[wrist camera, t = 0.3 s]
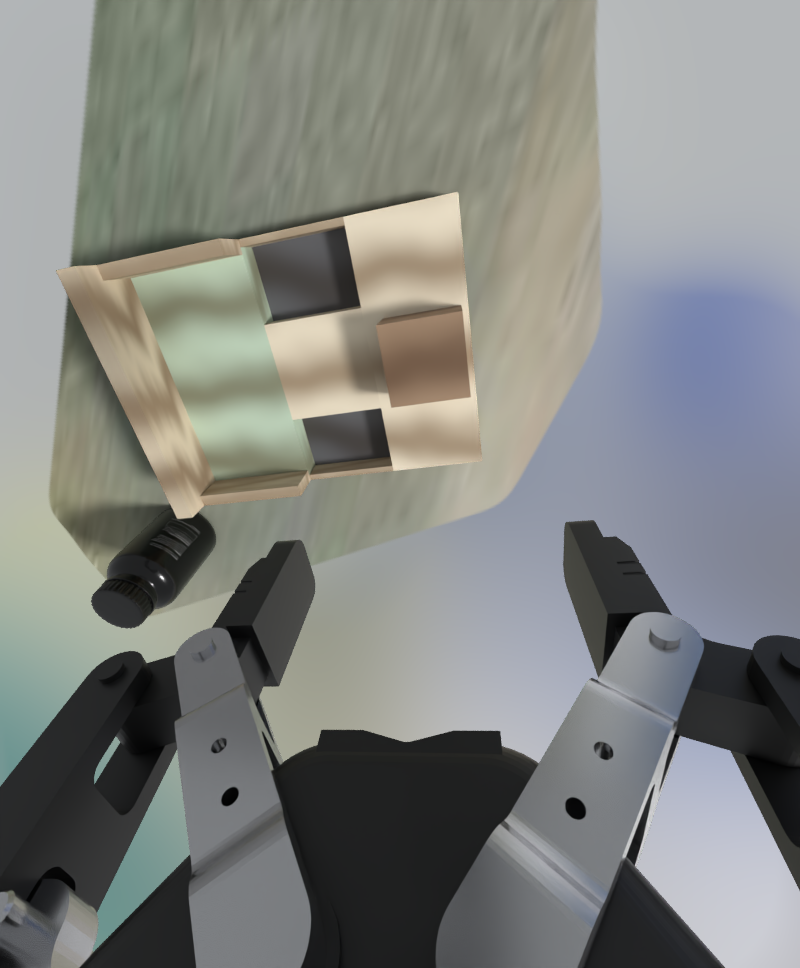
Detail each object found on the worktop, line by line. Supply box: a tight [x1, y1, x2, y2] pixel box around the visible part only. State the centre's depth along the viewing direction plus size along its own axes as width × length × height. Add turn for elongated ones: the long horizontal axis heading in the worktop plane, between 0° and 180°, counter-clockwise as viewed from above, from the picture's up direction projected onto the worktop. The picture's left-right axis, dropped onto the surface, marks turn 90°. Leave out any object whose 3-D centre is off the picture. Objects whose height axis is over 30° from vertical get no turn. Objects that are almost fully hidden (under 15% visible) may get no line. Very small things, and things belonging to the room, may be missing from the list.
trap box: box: [56, 192, 482, 519], centre depth 34 cm, size 20×27×8 cm
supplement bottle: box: [91, 508, 216, 628], centre depth 43 cm, size 7×7×12 cm
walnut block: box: [376, 305, 471, 408], centre depth 32 cm, size 6×6×4 cm
